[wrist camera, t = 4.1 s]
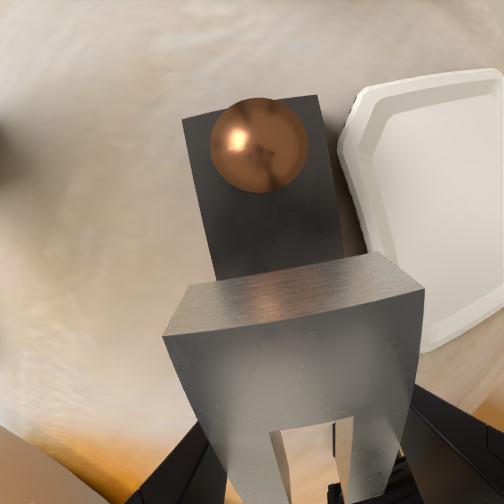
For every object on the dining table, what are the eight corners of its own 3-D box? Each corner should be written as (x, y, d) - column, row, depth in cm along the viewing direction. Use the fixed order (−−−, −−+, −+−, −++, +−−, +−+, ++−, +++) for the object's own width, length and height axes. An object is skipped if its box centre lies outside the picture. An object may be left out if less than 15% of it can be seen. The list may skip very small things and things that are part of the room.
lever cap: (368, 450, 10) (382, 494, 7) (253, 471, 10) (253, 517, 8) (378, 251, 7) (425, 288, 5) (189, 285, 8) (162, 335, 5)
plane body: (338, 370, 22) (363, 442, 15) (255, 385, 23) (254, 461, 15) (304, 109, 17) (336, 71, 9) (197, 129, 17) (156, 104, 10)
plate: (309, 107, 17) (316, 99, 15) (500, 70, 15) (515, 66, 13) (384, 356, 22) (393, 371, 20) (534, 268, 20) (547, 275, 18)
